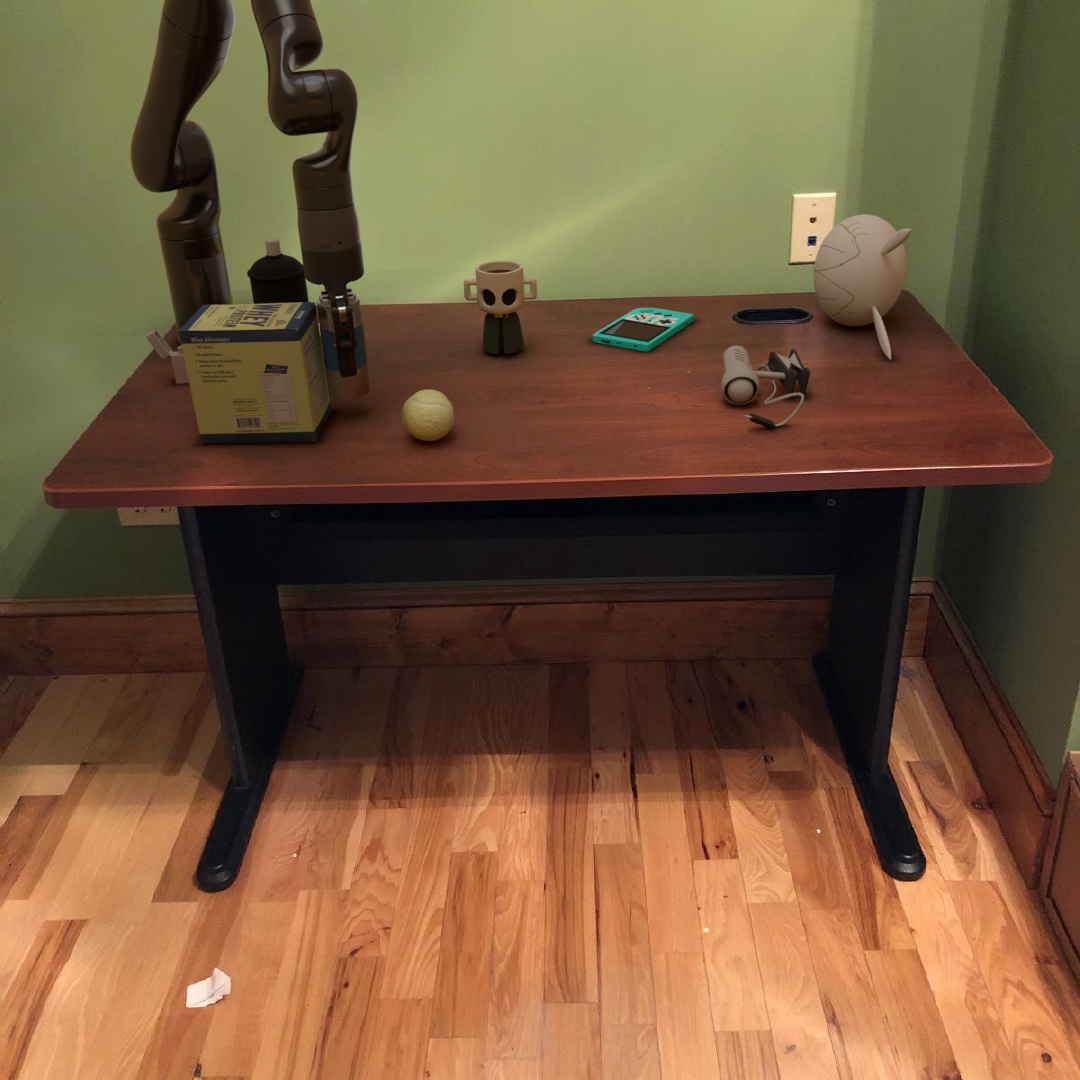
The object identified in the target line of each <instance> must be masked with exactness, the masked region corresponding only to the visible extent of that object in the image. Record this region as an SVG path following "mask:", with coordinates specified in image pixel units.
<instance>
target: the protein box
mask: <svg viewBox="0 0 1080 1080" xmlns="http://www.w3.org/2000/svg"><path fill="white" fill-rule="evenodd" d="M319 325H320V324H319V317H318V310H317V303H315V302H314V301H309V302H299V303H269V304H254V303H242V304H241V303H240V304H239V303H237V304H235V303H233V305H202V306H201V307H200V308H199V309H198V311H197V312H196V313H195V314H194V315H193V316H192V317H191V318H190V319H189V320H188V321H187V323H186V324H185V325H184V326H183V327H182V328H181V329H180V330H179V331H177V333H178V332H179V336H180V341H181V345H180V346H182V351H183V355H184V360H185V365H186V370H187V375H188V380H189V383H188V385H189V387H190V388H189V389H190V394H191V398H192V404H193V409H194V414H195V418H196V423H197V429H198V433H199V439H200V444H201V445H208V444H210V445H211V444H212V445H215V444H217V445H219V444H220V445H221V444H276V443H278V444H281V443H282V444H283V443H315V442H316V441H317V439H318V437H319V435H320V433H321V431H322V429H323V428H324V425H325V423H326V422H327V420H328V417H329V415H330V413H331V411H332V405H331V401H330V395H329V390H328V383H327V376H326V368H325V364H324V356H323V349H322V342H321V334H320V327H319Z"/></svg>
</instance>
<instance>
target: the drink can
mask: <svg viewBox="0 0 1080 1080" xmlns="http://www.w3.org/2000/svg"><path fill="white" fill-rule="evenodd" d="M347 294H353V295H354V301H355V306H354V315H355V321H356V328H355V330H354V332H355V341H356V342H357V345H356V348H355V349H354V350H355V359H356V367H357V375H356V376H352V377H341V375H340V371H339V363H338V355H337V351H336V348H335V346H334V344H335V339H334V334H333V333H332V332H330V331H329V325H328V317H327V311H326V309H325V308H324V304H323V298H322V297H325V296H328V294H323V295H322V294H321V293H320V294H319V295H318V298H317V299H316V310H317V318H318V324H319V332H320V339H321V345H322V352H323V360H324V367H325V374H326V380H327V387H328V394H329V397H331V398H333V399H334V400H335V399H336V400H341V401H349V400H356V399H360V398H363V397H365V396H367V395H368V394H370V392H371V385H370V377H369V369H368V357H367V356H368V355H367V347H366V339H365V331H364V321H363V315H362V308H361V300H360V296H359V295H358V294H357V293H356V292H355V291H354V290H352V291H351V292H347ZM350 299H351V298H348V301H350ZM327 302H328V303H329V304H330V300H327ZM353 304H354V303H349V305H351V306H352V307H353ZM325 307H326V308H327V309H328V311H329V312H330V313H331V304H330V305H326V306H325ZM331 316H332V314H331ZM332 322H333V317H332ZM339 339H340V340H348V339H350V335H349V333H345V334H340V335H339Z"/></svg>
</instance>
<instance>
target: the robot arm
mask: <svg viewBox="0 0 1080 1080" xmlns="http://www.w3.org/2000/svg"><path fill="white" fill-rule="evenodd" d="M250 5H251V9H252V14H253V17H254V18H253V19H254V21H255V24H256V27H257V31H258V33H259V36H260V39H261V42H262V45H263V50H264V54H265V60H266V68H267V110H268V116H269V118H270V121H271V122H272V124H273V126H274V127H275V128H276V129H277V130H278V131H279V132H280V133H282V134H283V135H286V136H287V137H300V136H307V135H316V134H325V133H326V136H325V139H324V141H323V143H322V145H321V146H320V147H318V148H317V149H314V150H313V151H310V152H307V153H305V154H303V155H301V156H298V157H297V158H296V159H295V160H294V161H293V163H292V168H291V169H292V179H293V186H294V194H295V200H296V201H295V202H296V206H297V207H296V208H297V230H298V237H299V245H300V251H301V259H302V264H303V267H304V274H305V278H306V282H309V283H310V284H313V285H317V286H321V285H322V286H323V288H324V290H321V291H320V294H322V295H323V294H328V296H325V297H322V298H323V304H324V308H325V309H326V311H327V317H328V325H329V331H330V332H332V333H333V334H334V339H335V344H334V346H335V348H336V351H337V355H338V363H339V371H340V375H341V377H352V376H356V375H357V367H356V359H355V350H354V349H355V348H356V345H357V342H356V341H355V332H354V330H355V328H356V321H355V315H354V306H355V301H354V295H353V294H347V292H351V291H353V289H352V287H347V285H349V283H353V282H356V281H358V280H360V279H361V278H362V277H363V276H364V274H365V266H364V257H363V256H364V255H363V249H362V240H361V230H360V222H359V218H358V213H357V209H356V204H355V195H354V189H353V188H354V187H353V180H352V155H353V154H352V153H353V144H354V137H355V130H356V124H357V118H358V112H359V96H358V90H357V87H356V85H355V82H354V81H353V79H352V77H351V76H350V75H349V73H347V72H346V71H345V70H343V69H341V68H337V67H330V68H327V67H326V68H319V69H310V70H302V69H304V68H306V67H308V66H311V65H312V64H314V63H315V62H316V61H318V60H319V58H320V57H321V56H322V53H323V51H324V39H323V35H322V31H321V28H320V26H319V22H318V19H317V16H316V13H315V10H314V7H313V4H312V1H311V0H250ZM235 24H236V11H235V5H234V3H233V0H163V4H162V10H161V16H160V21H159V26H158V31H157V32H158V33H157V41H156V45H155V46H156V47H155V52H154V57H153V61H152V65H151V70H150V75H149V78H148V83H147V88H146V90H145V95H144V98H143V101H142V105H141V108H140V111H139V114H138V117H137V120H136V123H135V127H134V130H133V133H132V138H131V142H130V151H129V152H130V153H129V154H130V164H131V165H130V166H131V170H132V173H133V175H134V178H135V179H136V181H137V182H138V184H139V185H140V186H141V187H142V188H143V189H144V190H146V191H149V192H151V193H156V194H157V193H170V192H174V191H176V194H175V197H174V199H173V200H172V201H171V203H170V204H169V205H168V206H167V208H165V209H164V210H163V211H162V212H160V213H159V215H158V216H157V218H156V230H157V234H158V239H159V244H160V250H161V255H162V258H163V263H164V268H165V274H166V279H167V285H168V290H169V294H170V295H169V296H170V299H171V305H172V309H173V315H174V320H175V325H176V331H177V335H178V336H177V339H178V343H179V346H181V341H180V336H179V332H178V331H179V330H180V329H181V328H182V327H183V326H184V325H185V324H186V323H187V321H188V320H189V319H190V318H191V317H192V316H193V315H194V314H195V313H196V312H197V311H198V309H199V308H200V307H201V306H202V305H234V300H233V299H234V298H233V295H232V293H233V292H232V288H231V283H230V277H229V270H228V265H227V258H226V253H225V248H224V243H223V235H222V232H221V231H222V230H221V225H220V218H221V213H222V204H221V197H220V195H221V194H220V187H219V179H218V170H217V169H218V168H217V163H216V162H217V161H216V156H215V150H214V147H213V145H212V144H213V143H212V142H211V139H210V137H209V135H208V134H207V132H206V131H205V128H203V127H202V126H201V125H200V124H199V123H198V122H196V121H193V120H189V119H188V116H189V114H190V112H192V110H193V108H194V107H195V106H196V104H197V103H198V102H199V100H200V99H201V98H202V97H203V96H204V94H205V93H206V92H207V90H208V89H209V88H210V87H211V85H212V84H213V83H214V82H215V80H216V79H217V78H218V76H219V74H220V73H221V71H222V70H223V67H224V66H225V63H226V61H227V58H228V54H229V50H230V46H231V42H232V37H233V33H234V30H235ZM348 298H351V299H350V301H348ZM327 300H330V304H331V313H330V312H329V311H328V309H327V308H326V307H325V306H326V305H330V304H329V303H328V302H327ZM349 303H354V304H353V307H352V306H351V305H349ZM331 314H332V316H331ZM332 317H333V322H332ZM345 333H349V335H350V339H348V340H340V339H339V335H340V334H345Z"/></svg>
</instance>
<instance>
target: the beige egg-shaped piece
mask: <svg viewBox="0 0 1080 1080" xmlns="http://www.w3.org/2000/svg"><path fill="white" fill-rule="evenodd" d="M912 231H913V230H912V229H911V228H902V229H899V230H898V231H897V230H896V228H895V227H893V226H892V224H890V222H889V221H887V220H885V219H884V218H882V217H880V216H877V215H874V214H857V215H852V216H849V217H847V218H845V219H843V220H841V221H840V222H839V223H838V224H836V225H835V226H834V227H833V228H831V230H830V231H829V232H828V233H827V235H826V236H825V237H824V239H823V240H822V243H821V244H820V245H819V247H818V251H817V254H816V257H815V259H814V265H813V289H814V292H815V295H816V298H817V302H818V303H819V305H820V307H821V309H822V310H823V311H824V312H825V314H826V315H827V316H828V317H830V318H831V319H832V320H833V321H835V322H836V323H838V324H841V325H843V326H846V327H853V328H854V327H864V326H868V325H870V324H872V323H874V327H875V331H876V336H877V339H878V343H879V347H880V349H881V350H882V352H883V354H884V356H885V357H886V358H887V359H888V360H890V361H891V360H892V349H891V343H890V339H889V336H888V333H887V330H886V326H885V325H884V322H883V317H884V316H885V315H886V314H887V313H889V311H890V310H891V309H892V308H893V306H894V305H895V304H896V302H897V301H898V299H899V297H900V295H901V293H902V290H903V288H904V285H905V282H906V275H907V269H908V268H907V264H908V263H907V261H908V260H907V254H906V249H905V246H904V242H906V241H907V240H908V238H909V237H910V235H911V233H912Z"/></svg>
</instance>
